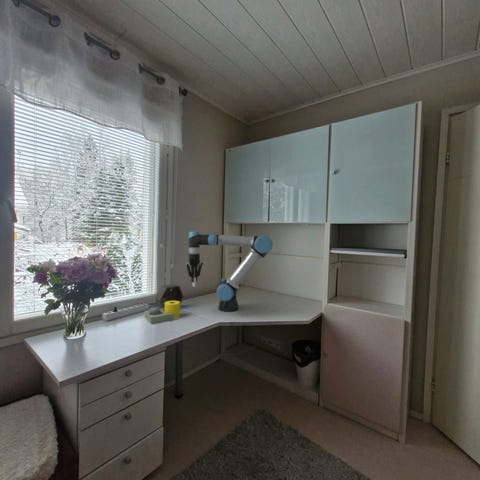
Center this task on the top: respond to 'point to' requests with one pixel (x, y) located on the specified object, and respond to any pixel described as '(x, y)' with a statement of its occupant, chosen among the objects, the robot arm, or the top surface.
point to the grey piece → (158, 315)
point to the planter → (168, 295)
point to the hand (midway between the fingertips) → (194, 286)
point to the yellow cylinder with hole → (173, 308)
